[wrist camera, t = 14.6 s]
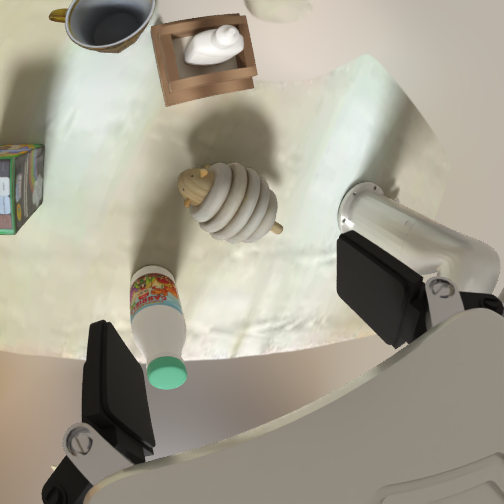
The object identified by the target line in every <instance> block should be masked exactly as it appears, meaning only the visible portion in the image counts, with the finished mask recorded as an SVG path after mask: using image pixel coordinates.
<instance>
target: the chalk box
mask: <svg viewBox="0 0 504 504" xmlns="http://www.w3.org/2000/svg"><path fill="white" fill-rule="evenodd" d="M43 160H44V145H34V144H24V145H0V235H16V233H17V232H18V231H19V229H20V228H21V227H22V226H23V225H24V223H25V222H26V221H27V220H28V219H29V218H30V216H31V215H32V214H33V213H34V212H35V211H36V210H37V209H38V207H39V206H40V205H41V204H42V185H43Z"/></svg>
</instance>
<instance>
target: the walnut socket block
mask: <svg viewBox="0 0 504 504" xmlns="http://www.w3.org/2000/svg"><path fill="white" fill-rule="evenodd" d="M223 25H231V26H234V27H236V29H237V30H238V31H239V34H241V35H242V36H243V39H244V48H243V50H242V51H241V52H240V53H238V54H237V55H235V56H233V57H232V58H230V59H228V60H227V61H225V62H223V63H221V64H218V65H214V66H207V67H201V66H194V65H190V64H187V63H186V62H185V59H184V51H185V49H186V47H187V46H188V44H189V43H190V41H191V40H192V38H193V37H194V36H195V35H197V34H199V33H201V32H204V31H207V30H212V29H218V28H219V27H221V26H223ZM151 37H152V42H153V48H154V53H155V58H156V63H157V68H158V73H159V77H160V82H161V87H162V91H163V96H164V100H165V105H166V107H168V106H172V105H175V104H179V103H183V102H187V101H191V100H195V99H200V98H204V97H209V96H214V95H219V94H224V93H229V92H235V91H241V90H247V89H252V88H254V85H253V80H252V76H256V75H257V70H256V64H255V59H254V53H253V48H252V43H251V38H250V34H249V29H248V24H247V20H246V16H240V15H239V13H237V14H224V15H214V16H206V17H198V18H192V19H186V20H180V21H174V22H170V23H165V24H160V25H156V26H151Z"/></svg>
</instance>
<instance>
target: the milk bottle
mask: <svg viewBox="0 0 504 504" xmlns="http://www.w3.org/2000/svg"><path fill="white" fill-rule="evenodd" d="M130 317H131V329H132V335H133V338H134V341H135V343H136V345H137V347H138V348H139V350H140V351H141V352H142V354H143V355H144V356H145V358H146V360H147V364H146V368H147V376H148V379H149V382H150V383H151V384H152V385H153V386H155V387H157V388H160V389H173V388H176V387H178V386H180V385H182V384H183V383H184V382H185V380H186V378H187V371H186V368H185V365H184V361H183V359H182V358H181V353H182V349H183V346H184V343H185V340H186V324H185V319H184V315H183V311H182V307H181V303H180V299H179V295H178V291H177V287H176V283H175V280H174V277H173V276H172V274H171V273H170V272H169V271H168V270H166V269H165V268H163V267H160V266H154V265H152V266H146V267H143V268H141V269H140V270H138V271H137V272H136V273H135V274H134V275H133V277H132V279H131V282H130Z"/></svg>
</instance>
